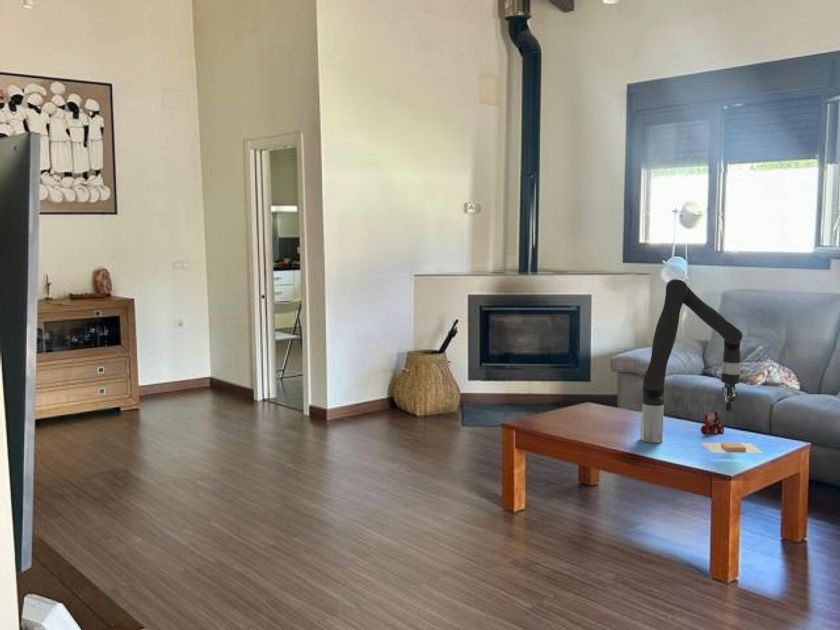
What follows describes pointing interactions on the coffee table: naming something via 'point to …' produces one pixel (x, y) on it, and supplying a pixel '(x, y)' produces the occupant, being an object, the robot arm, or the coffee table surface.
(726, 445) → the tile
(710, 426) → the red wheeled toy
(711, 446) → the stone board
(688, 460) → the coffee table surface
